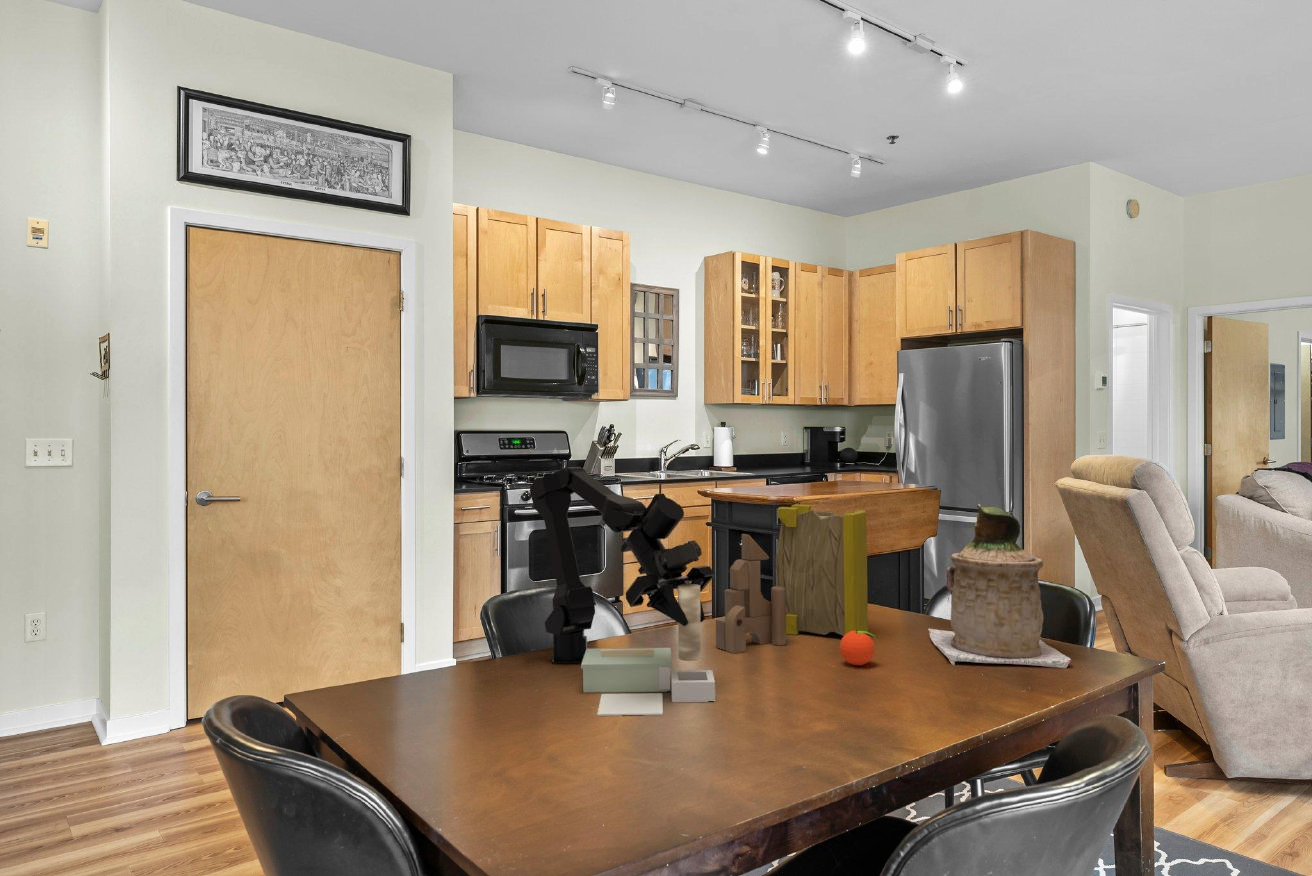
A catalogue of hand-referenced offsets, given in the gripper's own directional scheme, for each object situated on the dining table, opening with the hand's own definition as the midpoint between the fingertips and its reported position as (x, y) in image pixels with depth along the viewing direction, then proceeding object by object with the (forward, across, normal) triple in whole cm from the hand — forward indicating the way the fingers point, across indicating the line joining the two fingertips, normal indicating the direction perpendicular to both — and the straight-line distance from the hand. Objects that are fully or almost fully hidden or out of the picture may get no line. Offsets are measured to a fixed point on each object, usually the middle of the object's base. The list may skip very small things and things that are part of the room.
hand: (694, 622), depth 147 cm
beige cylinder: (+4, 0, +6) cm, 7 cm away
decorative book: (+1, +57, +18) cm, 60 cm away
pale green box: (+2, -2, +17) cm, 17 cm away
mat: (+6, -11, +13) cm, 18 cm away
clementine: (+16, +39, +3) cm, 42 cm away
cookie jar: (+27, +68, -8) cm, 73 cm away
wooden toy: (-2, +36, +21) cm, 41 cm away
